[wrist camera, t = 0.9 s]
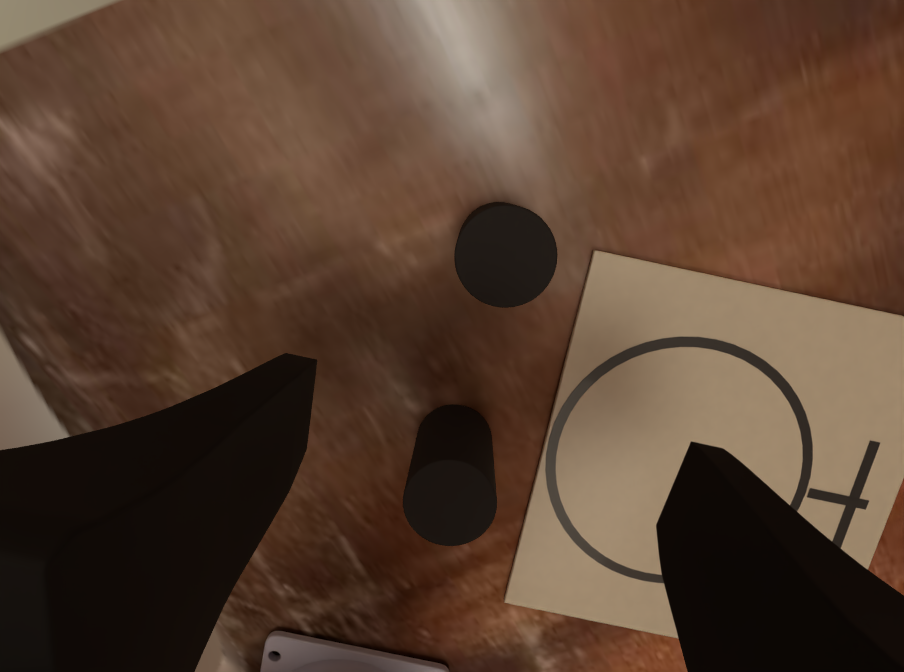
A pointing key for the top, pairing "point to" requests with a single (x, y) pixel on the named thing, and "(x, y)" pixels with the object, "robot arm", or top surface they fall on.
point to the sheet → (703, 427)
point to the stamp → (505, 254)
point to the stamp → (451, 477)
